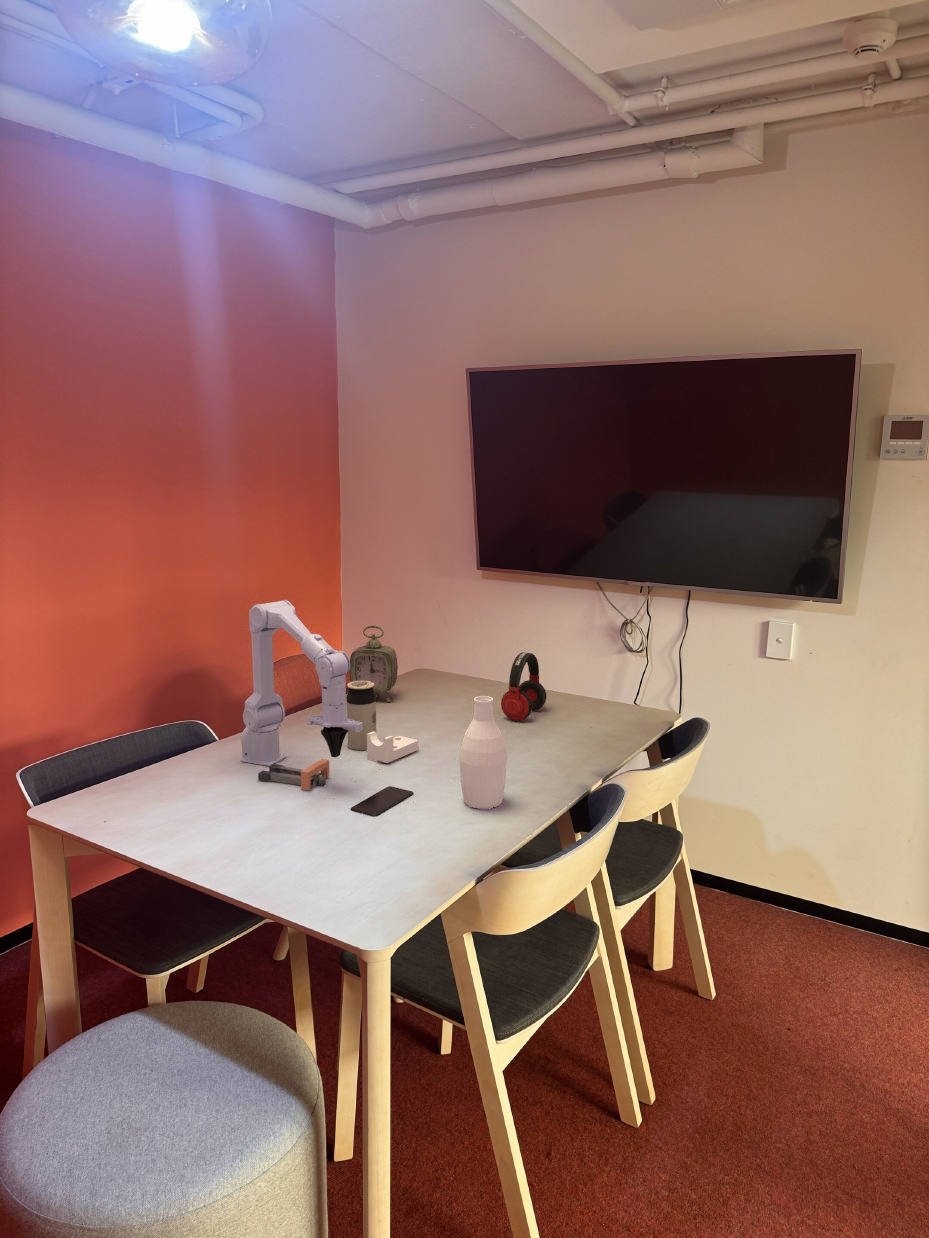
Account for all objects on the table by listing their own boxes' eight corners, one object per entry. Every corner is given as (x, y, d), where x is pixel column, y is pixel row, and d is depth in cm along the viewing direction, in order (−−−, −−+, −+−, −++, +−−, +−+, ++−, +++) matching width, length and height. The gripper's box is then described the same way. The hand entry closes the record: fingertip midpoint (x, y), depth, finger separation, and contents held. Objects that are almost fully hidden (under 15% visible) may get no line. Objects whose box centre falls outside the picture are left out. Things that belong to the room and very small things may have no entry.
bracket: (387, 766, 229) (386, 738, 227) (367, 760, 233) (366, 733, 231) (418, 752, 239) (418, 726, 238) (398, 747, 243) (398, 721, 242)
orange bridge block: (329, 776, 220) (329, 759, 219) (308, 790, 211) (307, 772, 210) (322, 775, 221) (322, 758, 220) (301, 788, 212) (300, 771, 211)
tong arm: (314, 783, 215) (313, 777, 215) (309, 787, 213) (309, 780, 213) (263, 776, 220) (262, 770, 220) (258, 779, 218) (258, 773, 217)
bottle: (452, 797, 208) (451, 694, 203) (494, 790, 212) (495, 689, 207) (470, 815, 198) (471, 707, 193) (514, 807, 202) (516, 702, 197)
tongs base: (331, 781, 218) (331, 771, 217) (322, 787, 214) (322, 777, 213) (274, 771, 224) (274, 761, 224) (264, 776, 221) (264, 767, 220)
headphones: (527, 725, 262) (528, 661, 258) (497, 720, 266) (498, 657, 262) (549, 710, 277) (550, 649, 273) (520, 706, 282) (521, 645, 278)
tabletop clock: (350, 702, 286) (348, 627, 281) (357, 694, 294) (356, 622, 290) (392, 704, 283) (391, 629, 278) (399, 696, 292) (398, 623, 287)
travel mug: (342, 748, 241) (341, 686, 238) (356, 739, 249) (355, 679, 245) (368, 752, 239) (366, 689, 235) (381, 743, 246) (380, 681, 242)
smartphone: (375, 819, 197) (415, 795, 210) (375, 815, 196) (415, 791, 210) (348, 811, 201) (388, 788, 214) (348, 808, 200) (388, 785, 214)
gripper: (299, 703, 209) (301, 756, 211) (351, 710, 203) (353, 765, 206) (315, 695, 215) (317, 747, 218) (366, 702, 209) (367, 755, 212)
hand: (335, 755), depth 212 cm, fingers closed
